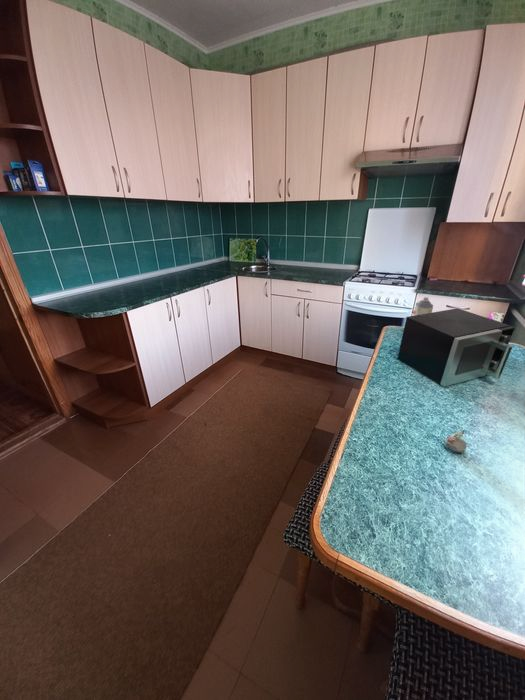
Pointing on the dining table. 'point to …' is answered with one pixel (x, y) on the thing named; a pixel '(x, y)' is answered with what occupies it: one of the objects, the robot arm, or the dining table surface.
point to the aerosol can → (423, 307)
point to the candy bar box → (496, 316)
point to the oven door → (474, 357)
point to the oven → (443, 339)
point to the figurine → (456, 443)
